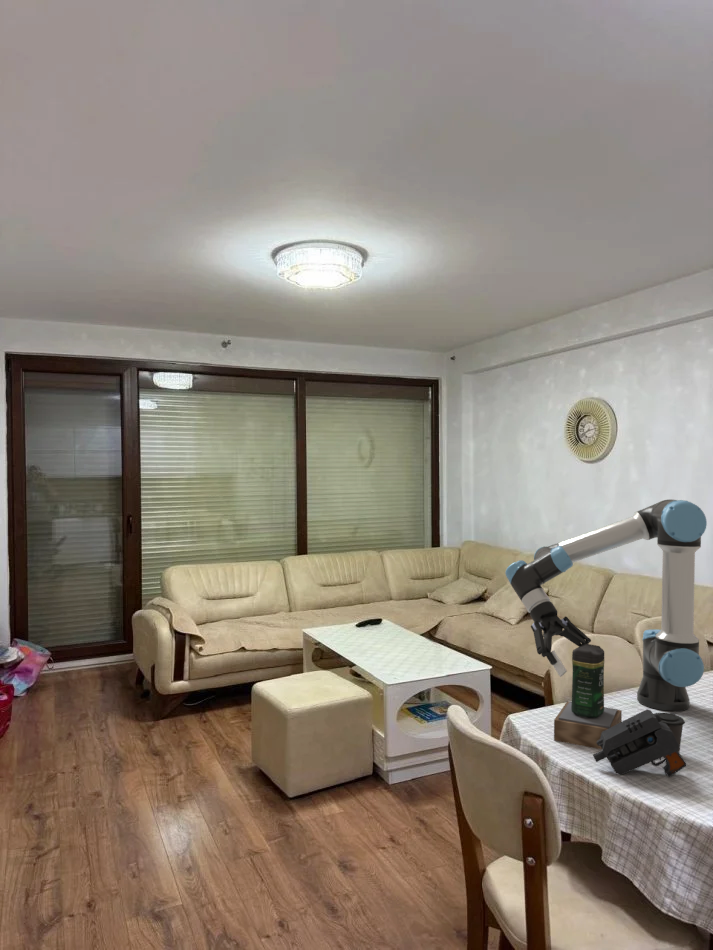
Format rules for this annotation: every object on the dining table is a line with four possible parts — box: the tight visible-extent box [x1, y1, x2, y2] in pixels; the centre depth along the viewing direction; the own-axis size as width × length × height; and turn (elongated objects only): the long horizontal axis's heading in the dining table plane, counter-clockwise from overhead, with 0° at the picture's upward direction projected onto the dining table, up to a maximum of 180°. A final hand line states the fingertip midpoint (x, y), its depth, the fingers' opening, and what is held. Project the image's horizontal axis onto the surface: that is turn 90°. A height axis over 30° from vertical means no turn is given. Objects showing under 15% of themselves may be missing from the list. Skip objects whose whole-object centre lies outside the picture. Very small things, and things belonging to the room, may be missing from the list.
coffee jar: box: [571, 643, 605, 718], centre depth 182 cm, size 10×8×19 cm
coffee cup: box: [656, 712, 686, 754], centre depth 169 cm, size 8×8×10 cm
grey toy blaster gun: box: [592, 708, 687, 778], centre depth 159 cm, size 6×19×15 cm, turn 78°
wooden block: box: [553, 701, 623, 751], centre depth 182 cm, size 15×17×6 cm
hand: (580, 670), depth 184 cm, fingers open, 13 cm apart
